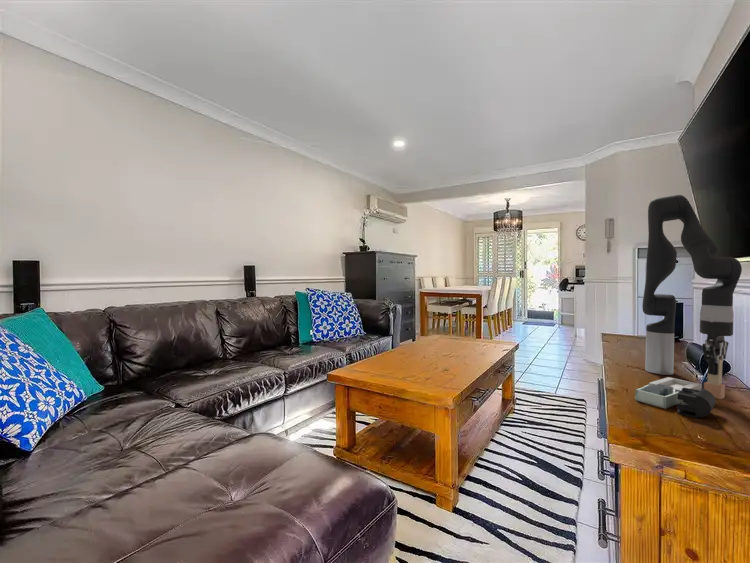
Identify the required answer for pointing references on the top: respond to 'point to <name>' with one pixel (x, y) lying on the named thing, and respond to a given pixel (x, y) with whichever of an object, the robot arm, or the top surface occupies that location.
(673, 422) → the top surface
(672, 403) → the tray
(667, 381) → the slot board
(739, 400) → the top surface
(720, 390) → the two-tone stepped bar
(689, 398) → the end cap
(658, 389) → the dark grey cube
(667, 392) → the grey cube block
